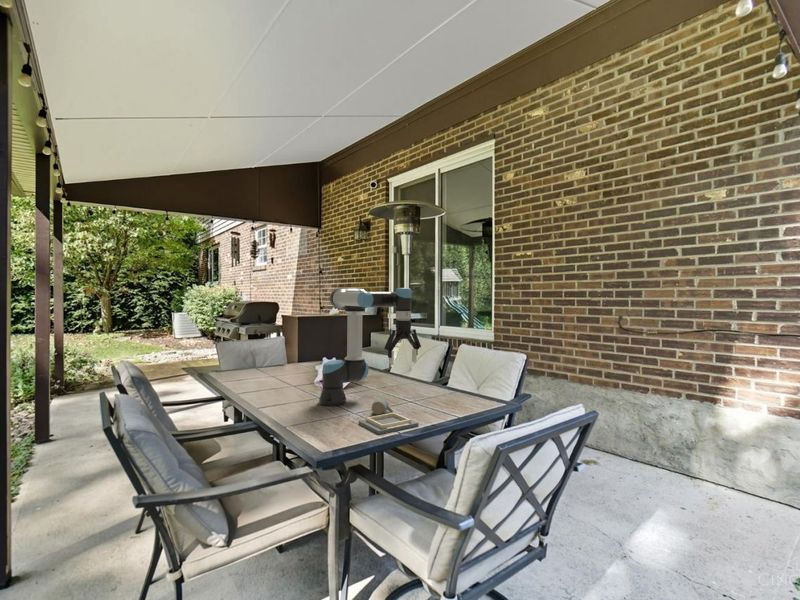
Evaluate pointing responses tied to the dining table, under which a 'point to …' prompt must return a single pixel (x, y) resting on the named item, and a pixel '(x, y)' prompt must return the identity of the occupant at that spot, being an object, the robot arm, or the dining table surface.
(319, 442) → the dining table surface
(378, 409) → the ceramic mug
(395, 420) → the charcoal pocket board
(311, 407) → the dining table surface
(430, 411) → the dining table surface
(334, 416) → the dining table surface
